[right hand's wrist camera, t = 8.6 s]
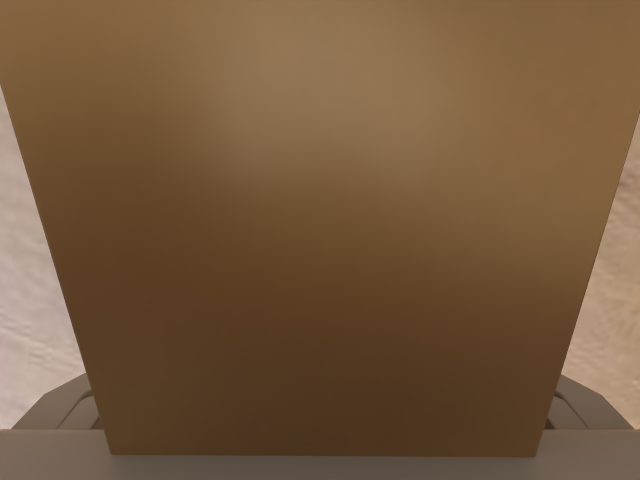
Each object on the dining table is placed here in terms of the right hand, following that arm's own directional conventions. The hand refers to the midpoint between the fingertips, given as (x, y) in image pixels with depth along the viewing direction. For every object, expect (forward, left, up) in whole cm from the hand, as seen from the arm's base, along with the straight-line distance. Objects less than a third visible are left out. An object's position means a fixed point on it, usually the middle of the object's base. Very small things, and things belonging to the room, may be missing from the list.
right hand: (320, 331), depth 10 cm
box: (0, +10, -7) cm, 12 cm away
